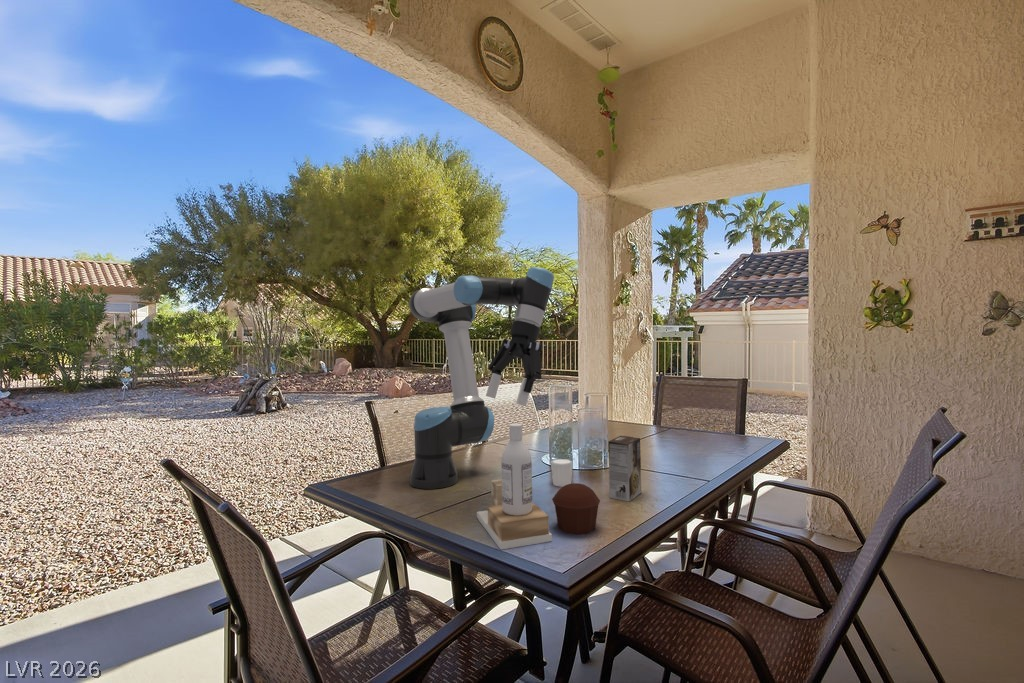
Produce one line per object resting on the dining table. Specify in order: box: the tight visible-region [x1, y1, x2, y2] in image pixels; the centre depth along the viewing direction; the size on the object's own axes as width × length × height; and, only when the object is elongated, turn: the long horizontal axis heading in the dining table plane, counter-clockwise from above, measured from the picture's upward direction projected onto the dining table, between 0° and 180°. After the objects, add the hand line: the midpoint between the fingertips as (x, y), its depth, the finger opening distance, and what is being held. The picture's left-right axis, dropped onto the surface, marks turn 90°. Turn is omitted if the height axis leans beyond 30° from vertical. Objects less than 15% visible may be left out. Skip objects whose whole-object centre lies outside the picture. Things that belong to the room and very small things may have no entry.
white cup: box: [550, 458, 574, 488], centre depth 150 cm, size 7×7×7 cm
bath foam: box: [501, 423, 533, 516], centre depth 111 cm, size 7×7×20 cm
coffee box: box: [607, 435, 642, 502], centre depth 138 cm, size 9×6×16 cm
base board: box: [476, 509, 553, 550], centre depth 115 cm, size 20×12×2 cm, turn 19°
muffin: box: [551, 482, 601, 536], centre depth 115 cm, size 12×11×10 cm
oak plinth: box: [487, 501, 550, 541], centre depth 111 cm, size 11×11×4 cm
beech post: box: [490, 478, 502, 506], centre depth 121 cm, size 5×5×8 cm
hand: (504, 401), depth 126 cm, fingers open, 13 cm apart
